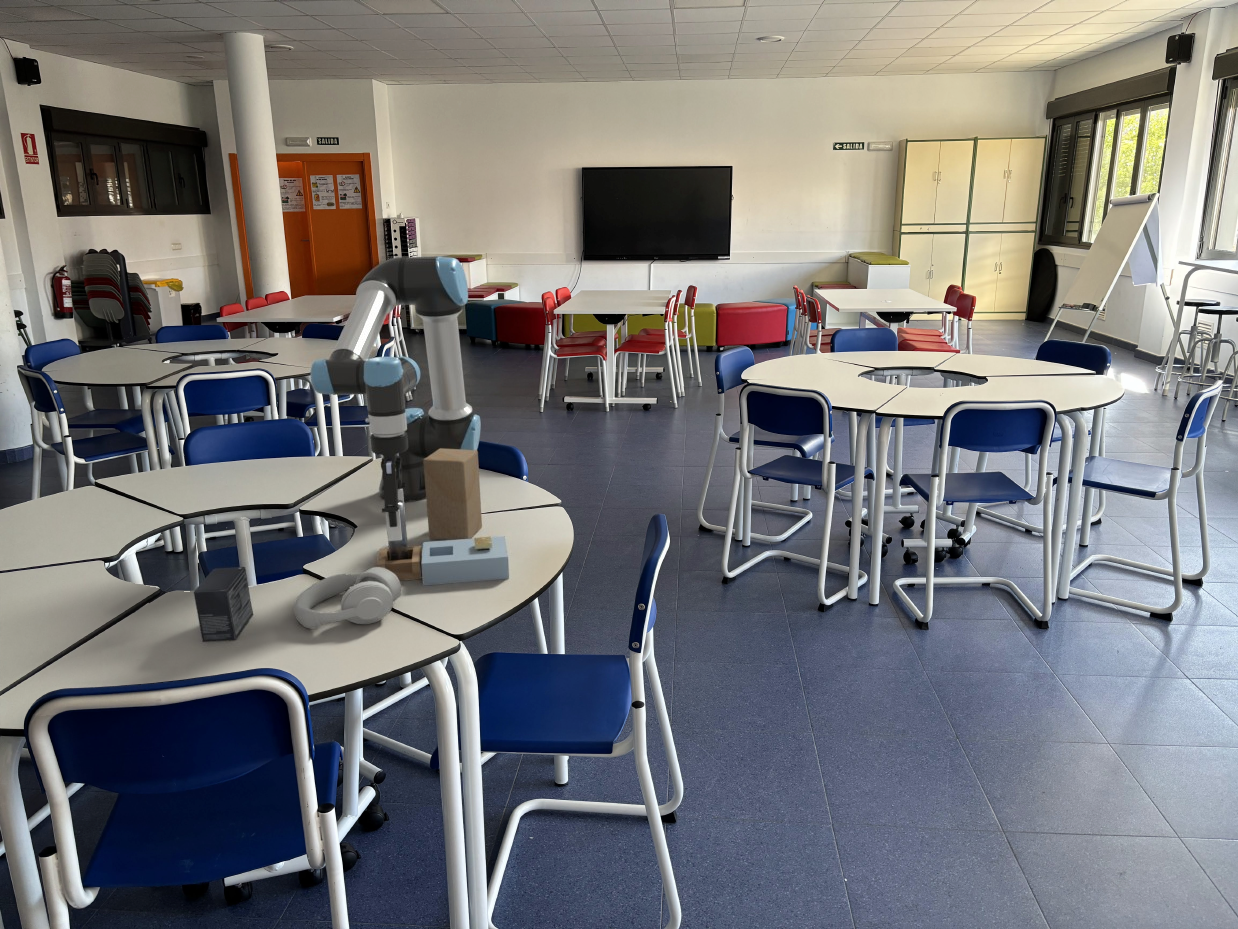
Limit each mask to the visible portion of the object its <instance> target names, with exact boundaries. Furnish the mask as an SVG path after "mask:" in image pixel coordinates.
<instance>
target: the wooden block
mask: <svg viewBox="0 0 1238 929" xmlns="http://www.w3.org/2000/svg"><path fill="white" fill-rule="evenodd" d="M423 463H424V475H425V488H426V498H425V499H426V500H425V501H426V513H427V523H428V524H427V525H428V536H429V539H430V540H439V541H447V540H460V539H473V537H474V536H475V535H476V534H477V533H478V532H479V531H480V530H481V528H482V527H483V521H482V518H483V517H482V502H481V488H480V487H481V484H480V471H479V470H480V468H479V452H478V450H477V451H476V450H461V449H442V448H440V449H438V450H437V451H435V452H434V453H433V454H431V455H430V456H428V457H427V458H425V459H424V461H423Z"/></svg>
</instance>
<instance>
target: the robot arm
mask: <svg viewBox="0 0 1238 929" xmlns="http://www.w3.org/2000/svg"><path fill="white" fill-rule="evenodd" d="M468 290H469V286H468V280H467V277H466V273H465V269H464V267H463V265H462V263H461V262H460V261H459V260H458V259H457V258H454V257H449V256H448V257H446V256H445V257H444V256H439V255H438V256H416V257H415V256H414V257H413V256H412V257H411V256H409V257H407V256H400V257H399V256H398V257H397V256H396V257H393V258H392V257H391V258H390V259H387V260H385V261H383V262H381V263H380V264H378V265H376V266H375V267H373V268H372V269H371V270H370V271H369V272H368V273H367V274H366V275H365V276H364V277H363V279H362V280H361V281H360V283H359V285H358V287H357V288H356V292H355V293H356V294H355V296H356V301H355V304H354V306H353V308H352V310H351V312H350V314H349V316H348V318H347V321H346V323H345V325H344V326H343V329H342V331H341V333H340V336H339V338H338V340H337V341H336V344H335V346H334V348H333V350H332V352H331V354H330V355H329V358H328V359H327V358H322V359H316V360H314V362H313V363H312V364H311V367H310V368H311V369H310V383H311V386H312V389H313V390H314V391H315V392H316V393H317V394H320V395H333V396H340V395H341V396H342V395H344V396H345V395H346V396H347V395H365V397H366V408H367V414H368V416H367V417H366V418H365V423H369V424H368V426H369V432H370V433H371V434H370V436H369V441H370V449H371V453H373V454H375V455H382V458H381V461H380V467H381V468H380V469H381V471H382V473H381V474H382V475H381V479H380V483H379V486H378V493H379V494H378V495H379V497H380V498H381V500H383V501H384V503H383V505H384V504H385V507H384V508H381V513H385V512H386V517H385V523H386V522H387V526H386V534H387V533H388V535H387V542H388V541H396V540H402V534H401V523H400V512H399V507H398V500H402V501H403V502H404V503H407V502H408V503H409V502H416V501H421V500H424V499H426V488H425V475H424V463H423V461H424V459H425V458H427V457H428V456H430V455H431V454H433V453H434V452H435V451H437V450H438V449H440V448H442V449H461V450H476V451H478V448H479V443H480V438H481V427H482V426H481V422H482V421H481V417H480V415H477V414H474V412H473V406H472V405H470V404H469V403H467V401H466V399H467V398H466V391H465V382H464V373H463V362H462V353H461V343H460V342H461V340H460V331H459V321H458V317H459V315H460V314H461V313H462V312H463V306H464V305H466V304H467V303H468V300H469V292H468ZM396 306H414V308H415V314H416V315H417V316H418V317H419V318H421V319H422V323H423V332H424V333H423V334H424V338H425V346H426V347H425V349H426V356H427V364H428V374H429V380H430V389H431V398H432V406H431V407H430V408H429V410H428V414H425V412H424V410H423V409H422V408H418V407H412V408H406V405H405V404H406V403H405V402H406V401H405V395H407V394H408V393H409V392H411V391H413V390H414V389H415V388H416V386H417V385H418V383H419V382H420V379H421V369H420V367H419V364H417V362H416V361H415V360H413V359H412V358H410V357H407V356H397V357H394V356H377V357H372V358H370V355H371V353H372V350H373V348H374V345H375V344H376V341H377V339H378V336H379V333H380V332H381V330H382V327H383V324H384V322H385V320H386V318H387V315H388V314H391V313H392V312H393V310H394V309H395V307H396ZM388 505H394V506H388ZM405 509H406V508H404V512H405ZM405 513H406V512H405Z"/></svg>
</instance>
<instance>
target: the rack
mask: <svg viewBox="0 0 1238 929" xmlns="http://www.w3.org/2000/svg"><path fill="white" fill-rule="evenodd" d="M378 550H379V551H378V556H377V560H376V564H375V565H376V566H375V567H381V568H385V569H387V570H389V571H391V572H392V573H394V574H395V575H396V576H397V577H398V579H399V582H400V581H401V582H402V581H410V580H411V581H412V580H413V581H414V580H422V578H423V576H422V564H421V563H422V551H423V547H422V545H413V546H408V553H409V559H408V560H395V561H390V554H389V547H388V548H379V549H378Z"/></svg>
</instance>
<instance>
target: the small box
mask: <svg viewBox="0 0 1238 929" xmlns="http://www.w3.org/2000/svg"><path fill="white" fill-rule="evenodd" d="M193 596H194V601H195V607H196V612H197V619H198V624H199V628H200V629H199V630H200V635H201V640H202V643H207V642H208V643H209V642H210V643H211V642H212V643H213V642H229V641H230V642H231V641H232V642H233V641H236V640H238V638H239V636H240V635H241V633H242V632H243V630H244V629H245V627H247V625H248V623H249V622H250V620H251V619H252V618H253V616H254V611H253V607H252V601H251V596H250V588H249V582H248V574H247V570H246V567H245V566H238V567H236V566H235V567H218V568H213V569H212V570H211V571H210V572H209V574H208V575H207V576H206V577H205V578H204V579H203V580H202V581H201V583H200V584H199V585H198V586H197V588H196V589H194V591H193Z"/></svg>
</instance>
